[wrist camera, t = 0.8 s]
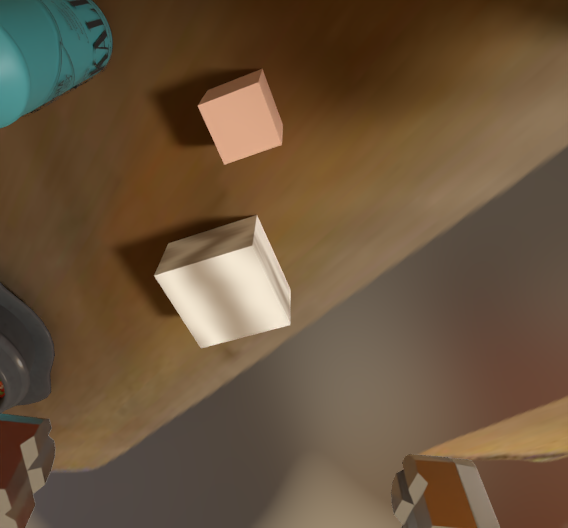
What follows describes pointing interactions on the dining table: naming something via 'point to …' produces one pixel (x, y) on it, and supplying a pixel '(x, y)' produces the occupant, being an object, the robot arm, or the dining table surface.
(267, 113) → the terracotta block
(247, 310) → the base block
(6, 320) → the casserole
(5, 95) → the beverage bottle
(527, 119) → the dining table surface
